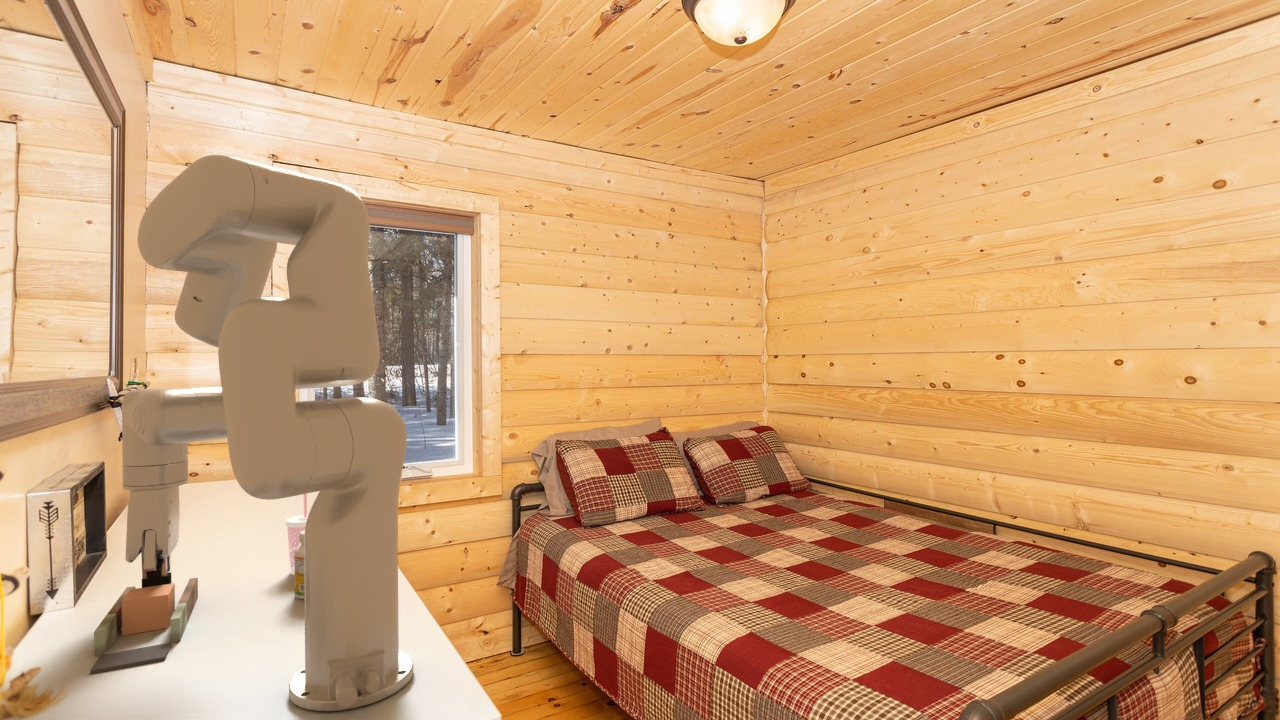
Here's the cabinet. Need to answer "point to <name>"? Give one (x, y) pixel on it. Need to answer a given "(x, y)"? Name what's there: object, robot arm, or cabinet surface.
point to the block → (148, 609)
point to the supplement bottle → (299, 568)
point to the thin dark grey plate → (131, 658)
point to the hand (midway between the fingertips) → (156, 603)
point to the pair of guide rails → (114, 618)
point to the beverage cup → (295, 533)
